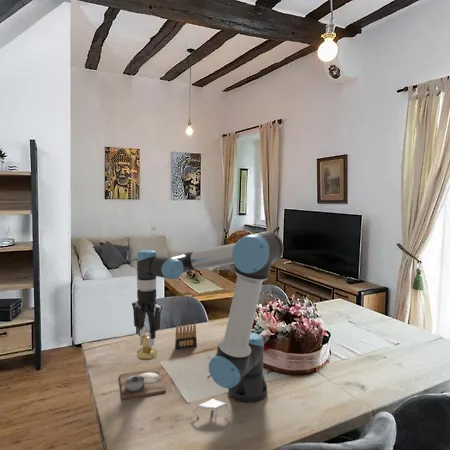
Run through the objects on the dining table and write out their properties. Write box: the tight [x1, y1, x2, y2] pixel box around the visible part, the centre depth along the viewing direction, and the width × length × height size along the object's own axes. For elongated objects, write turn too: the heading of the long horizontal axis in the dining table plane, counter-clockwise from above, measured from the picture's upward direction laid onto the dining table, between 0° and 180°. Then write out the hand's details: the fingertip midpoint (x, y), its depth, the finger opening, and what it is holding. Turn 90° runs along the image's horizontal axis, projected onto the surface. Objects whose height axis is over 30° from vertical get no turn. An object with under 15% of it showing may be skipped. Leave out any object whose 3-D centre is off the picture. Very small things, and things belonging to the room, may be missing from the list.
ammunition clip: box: [174, 322, 198, 351], centre depth 180 cm, size 11×2×12 cm, turn 110°
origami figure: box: [191, 398, 231, 422], centre depth 125 cm, size 12×8×5 cm
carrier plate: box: [119, 368, 167, 401], centre depth 145 cm, size 18×16×5 cm
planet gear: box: [136, 334, 158, 361], centre depth 147 cm, size 8×8×8 cm
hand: (147, 344), depth 147 cm, fingers closed on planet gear, 3 cm apart
